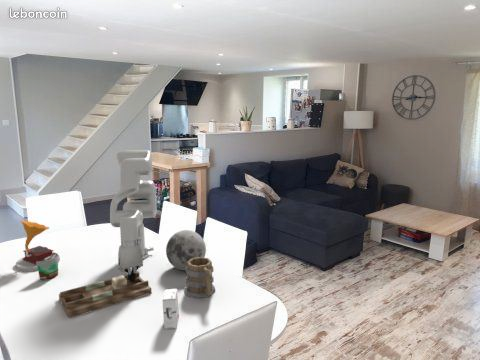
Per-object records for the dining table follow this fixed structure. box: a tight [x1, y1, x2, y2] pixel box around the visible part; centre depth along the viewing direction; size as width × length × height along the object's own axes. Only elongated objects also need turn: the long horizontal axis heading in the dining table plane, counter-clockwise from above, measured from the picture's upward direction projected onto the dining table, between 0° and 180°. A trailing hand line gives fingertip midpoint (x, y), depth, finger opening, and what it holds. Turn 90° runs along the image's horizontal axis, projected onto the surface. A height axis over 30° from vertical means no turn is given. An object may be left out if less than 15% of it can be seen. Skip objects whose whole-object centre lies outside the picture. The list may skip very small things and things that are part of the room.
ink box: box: [162, 288, 180, 330], centre depth 139 cm, size 9×5×12 cm, turn 5°
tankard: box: [184, 257, 216, 299], centre depth 160 cm, size 20×13×15 cm, turn 23°
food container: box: [36, 251, 61, 281], centre depth 177 cm, size 12×6×10 cm, turn 168°
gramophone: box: [15, 219, 61, 272], centre depth 192 cm, size 20×20×25 cm
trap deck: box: [58, 271, 153, 319], centre depth 159 cm, size 34×18×4 cm, turn 127°
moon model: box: [165, 229, 207, 271], centre depth 186 cm, size 20×20×20 cm
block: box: [111, 274, 127, 289], centre depth 162 cm, size 5×5×4 cm
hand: (131, 280), depth 166 cm, fingers closed
